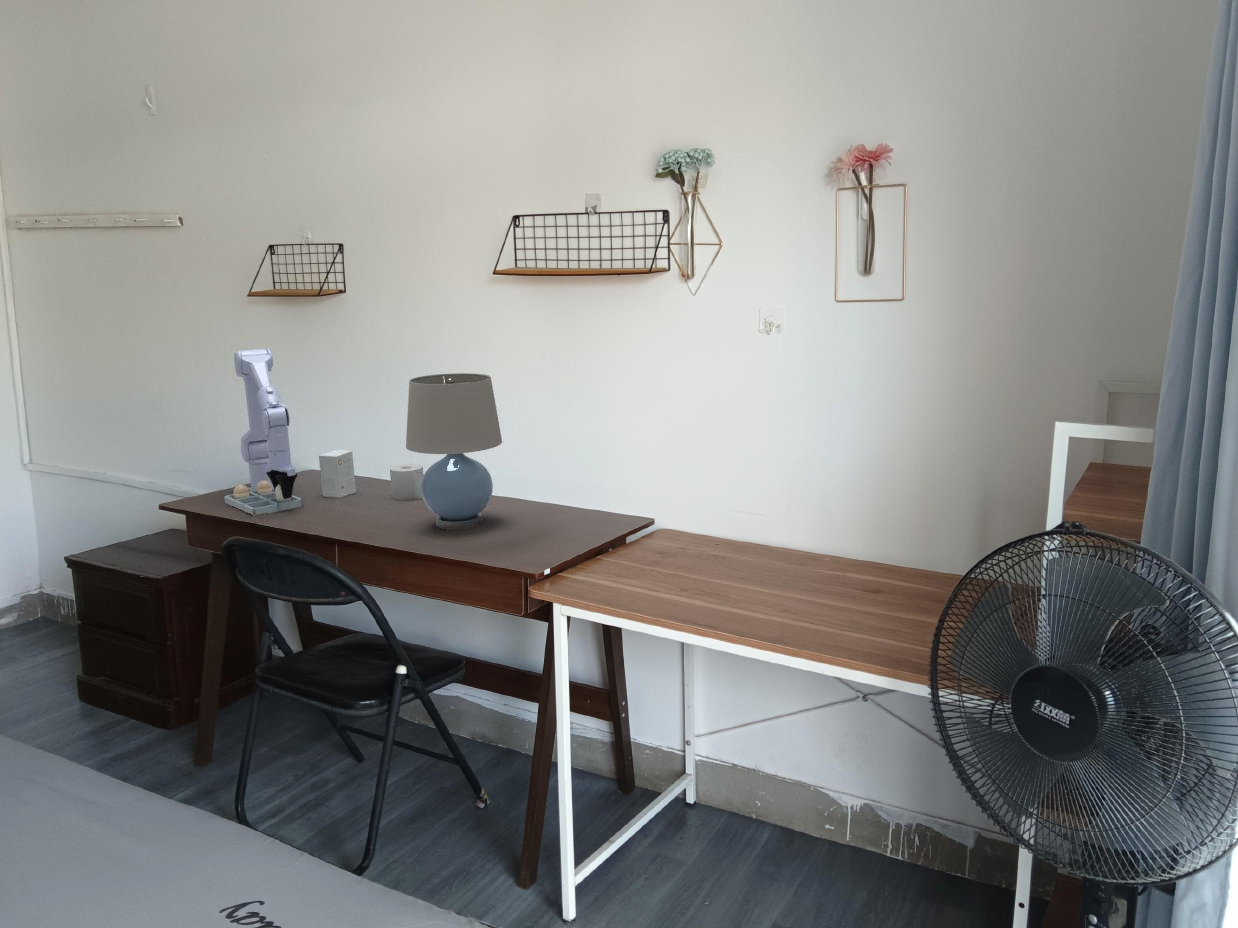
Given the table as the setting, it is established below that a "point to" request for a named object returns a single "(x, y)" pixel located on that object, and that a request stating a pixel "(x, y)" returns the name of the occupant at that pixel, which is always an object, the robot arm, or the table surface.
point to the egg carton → (262, 503)
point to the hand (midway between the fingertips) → (283, 496)
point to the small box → (337, 473)
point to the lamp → (454, 443)
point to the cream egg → (280, 495)
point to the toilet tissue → (406, 481)
